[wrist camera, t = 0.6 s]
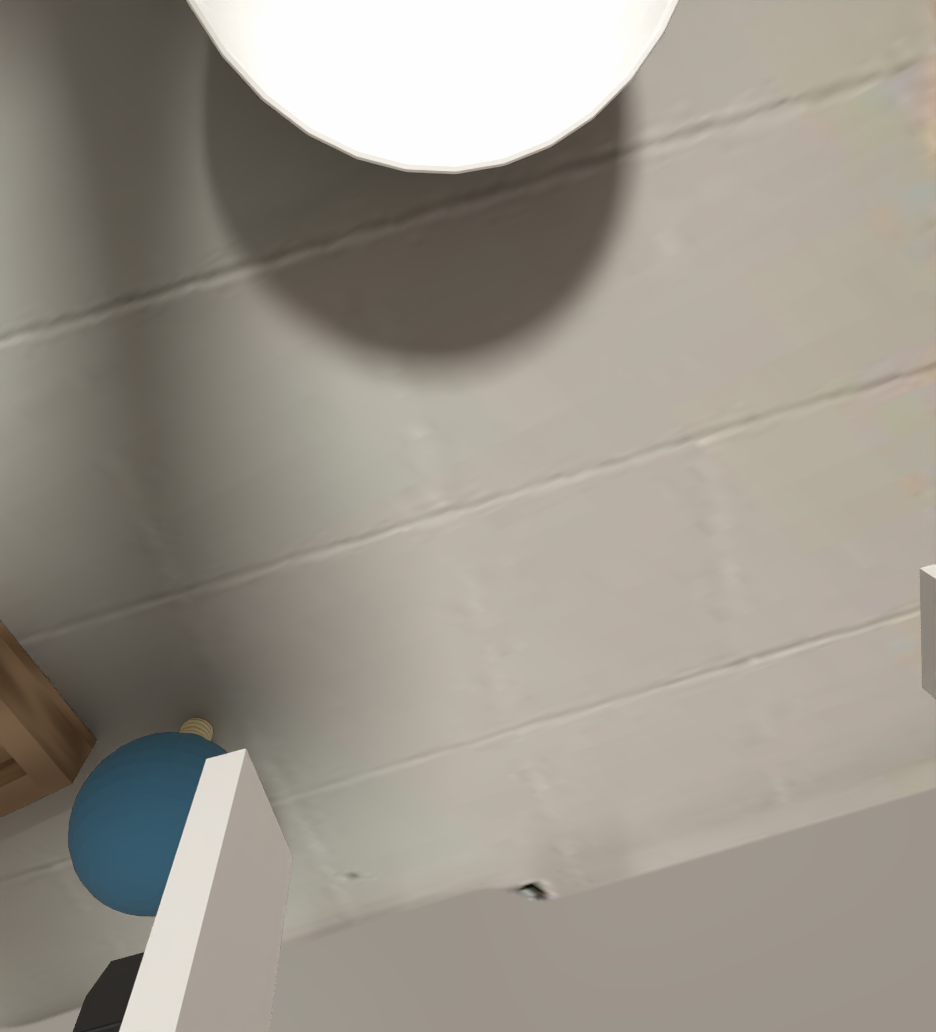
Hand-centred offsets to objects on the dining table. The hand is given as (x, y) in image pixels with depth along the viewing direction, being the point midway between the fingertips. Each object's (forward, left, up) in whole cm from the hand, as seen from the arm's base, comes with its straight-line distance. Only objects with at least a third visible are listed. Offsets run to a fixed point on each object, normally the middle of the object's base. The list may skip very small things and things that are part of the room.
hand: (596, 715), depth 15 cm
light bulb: (+10, -22, -28) cm, 37 cm away
